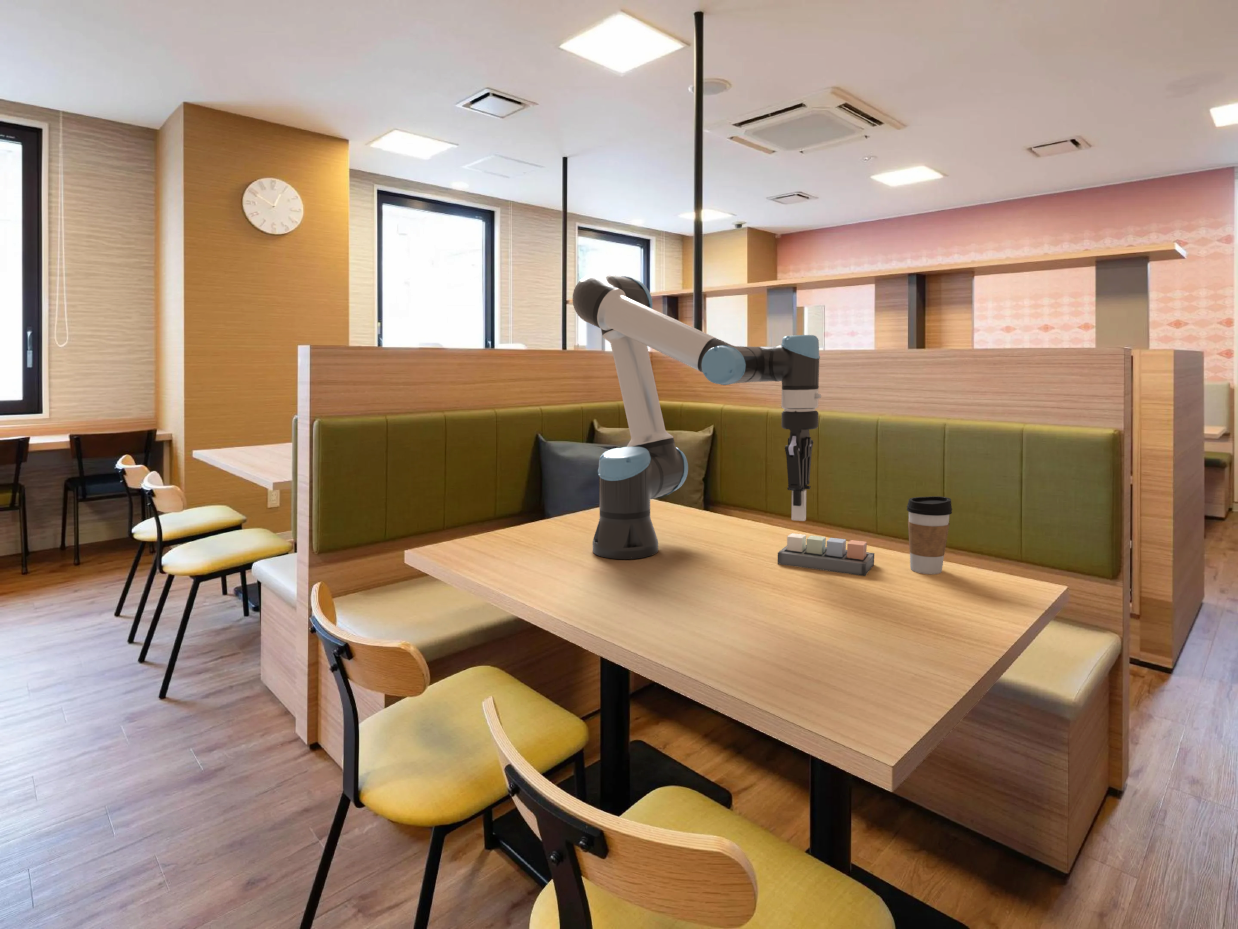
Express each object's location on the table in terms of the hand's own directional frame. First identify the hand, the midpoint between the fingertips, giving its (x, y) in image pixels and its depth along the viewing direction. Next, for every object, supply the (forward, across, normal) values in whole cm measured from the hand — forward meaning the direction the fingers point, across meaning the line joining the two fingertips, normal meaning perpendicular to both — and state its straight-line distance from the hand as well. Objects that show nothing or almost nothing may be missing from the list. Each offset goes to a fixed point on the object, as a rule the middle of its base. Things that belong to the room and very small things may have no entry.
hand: (798, 519), depth 149 cm
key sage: (+7, 0, -4) cm, 8 cm away
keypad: (+9, 0, -6) cm, 11 cm away
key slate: (+7, 0, -8) cm, 10 cm away
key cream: (+7, 0, 0) cm, 7 cm away
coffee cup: (+10, +6, -25) cm, 27 cm away
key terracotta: (+7, 0, -12) cm, 14 cm away
